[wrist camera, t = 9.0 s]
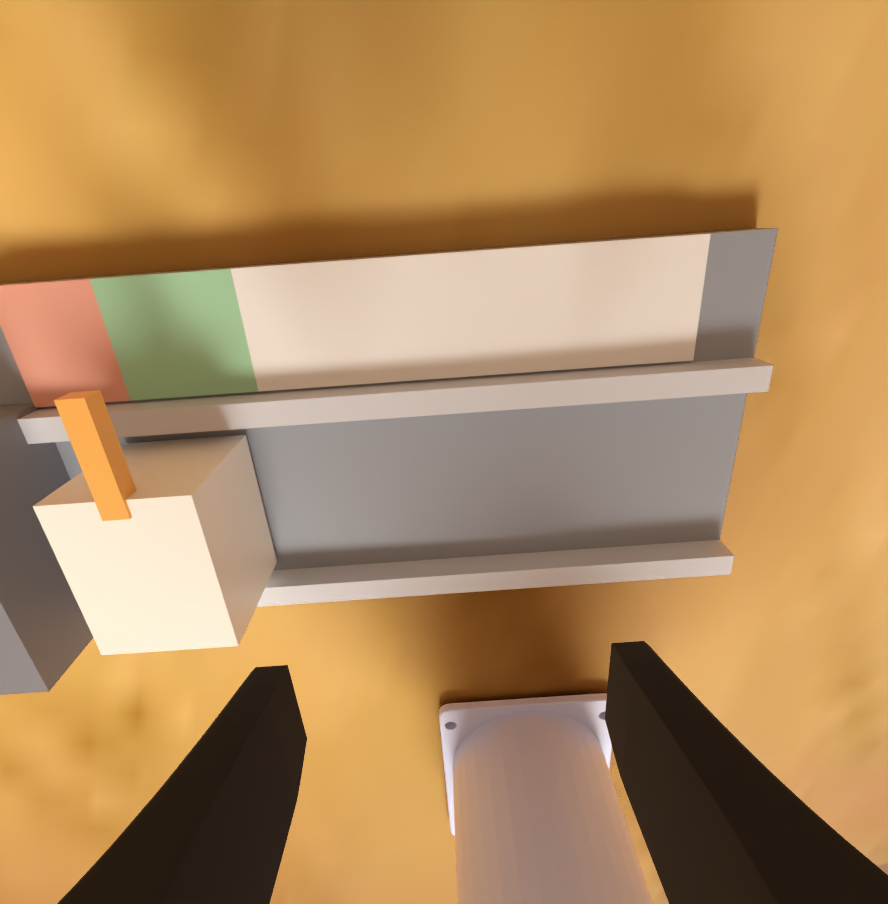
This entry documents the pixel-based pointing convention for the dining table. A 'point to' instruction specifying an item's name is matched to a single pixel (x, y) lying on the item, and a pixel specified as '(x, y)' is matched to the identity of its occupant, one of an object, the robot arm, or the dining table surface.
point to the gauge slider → (158, 535)
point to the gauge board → (403, 414)
